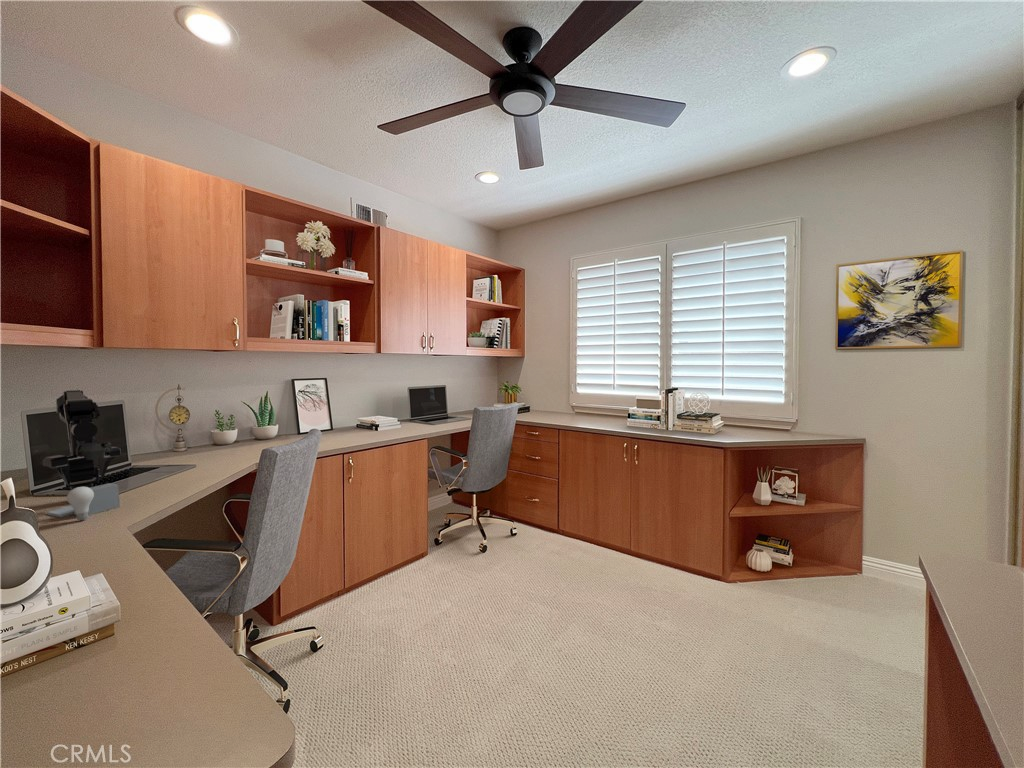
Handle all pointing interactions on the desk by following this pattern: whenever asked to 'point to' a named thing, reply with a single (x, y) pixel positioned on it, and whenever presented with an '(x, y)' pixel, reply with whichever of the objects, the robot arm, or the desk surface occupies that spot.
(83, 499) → the lightbulb
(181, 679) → the desk surface
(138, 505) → the desk surface
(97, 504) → the blue-grey rectangular block
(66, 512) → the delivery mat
